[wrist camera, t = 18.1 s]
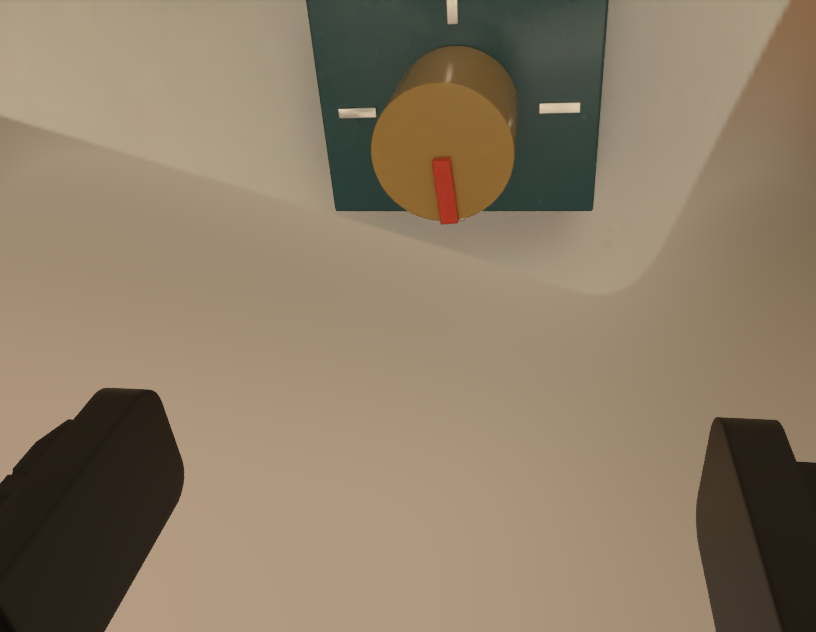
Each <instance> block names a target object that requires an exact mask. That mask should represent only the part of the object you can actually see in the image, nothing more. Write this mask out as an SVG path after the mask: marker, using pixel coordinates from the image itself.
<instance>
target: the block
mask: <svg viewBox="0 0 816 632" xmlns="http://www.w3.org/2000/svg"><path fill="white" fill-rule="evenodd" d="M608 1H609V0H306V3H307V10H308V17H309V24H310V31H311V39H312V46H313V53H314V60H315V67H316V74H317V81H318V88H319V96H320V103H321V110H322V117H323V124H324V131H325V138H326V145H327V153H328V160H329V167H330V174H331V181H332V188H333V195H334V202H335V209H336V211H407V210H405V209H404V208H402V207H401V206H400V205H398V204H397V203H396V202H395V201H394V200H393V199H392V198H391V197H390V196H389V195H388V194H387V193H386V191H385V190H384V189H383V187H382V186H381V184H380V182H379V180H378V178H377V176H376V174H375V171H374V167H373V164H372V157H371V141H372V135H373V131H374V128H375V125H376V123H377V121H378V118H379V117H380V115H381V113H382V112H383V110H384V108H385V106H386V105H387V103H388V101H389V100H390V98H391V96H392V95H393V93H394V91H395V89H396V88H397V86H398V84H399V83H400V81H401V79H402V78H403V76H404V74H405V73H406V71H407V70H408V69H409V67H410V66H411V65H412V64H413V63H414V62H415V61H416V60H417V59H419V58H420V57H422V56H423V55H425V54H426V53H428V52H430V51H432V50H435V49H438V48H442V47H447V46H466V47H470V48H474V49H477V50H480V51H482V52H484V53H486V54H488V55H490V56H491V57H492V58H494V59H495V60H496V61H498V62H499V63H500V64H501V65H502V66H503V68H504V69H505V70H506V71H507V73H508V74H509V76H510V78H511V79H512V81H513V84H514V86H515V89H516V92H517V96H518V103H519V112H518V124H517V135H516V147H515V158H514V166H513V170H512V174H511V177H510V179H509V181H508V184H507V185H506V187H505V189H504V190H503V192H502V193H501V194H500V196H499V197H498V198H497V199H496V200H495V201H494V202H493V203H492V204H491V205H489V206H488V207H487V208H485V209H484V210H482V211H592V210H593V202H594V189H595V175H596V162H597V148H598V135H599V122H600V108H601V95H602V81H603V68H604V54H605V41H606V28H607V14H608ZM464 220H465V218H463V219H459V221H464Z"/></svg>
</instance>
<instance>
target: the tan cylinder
mask: <svg viewBox="0 0 816 632" xmlns="http://www.w3.org/2000/svg"><path fill="white" fill-rule="evenodd" d="M518 112H519V103H518V96H517V92H516V89H515V86H514V84H513V81H512V79H511V78H510V76H509V74H508V73H507V71H506V70H505V69H504V68H503V66H502V65H501V64H500V63H499V62H498V61H496V60H495V59H494V58H492V57H491V56H490V55H488V54H486V53H484V52H482V51H480V50H477V49H474V48H470V47H466V46H447V47H442V48H438V49H435V50H432V51H430V52H428V53H426V54H425V55H423V56H422V57H420V58H419V59H417V60H416V61H415V62H414V63H413V64H412V65H411V66H410V67H409V69H408V70H407V71H406V73H405V74H404V76H403V78H402V79H401V81H400V83H399V84H398V86H397V88H396V89H395V91H394V93H393V95H392V96H391V98H390V100H389V101H388V103H387V105H386V106H385V108H384V110H383V112H382V113H381V115H380V117H379V118H378V121H377V123H376V125H375V128H374V131H373V135H372V141H371V157H372V164H373V167H374V171H375V174H376V176H377V178H378V180H379V182H380V184H381V186H382V187H383V189H384V190H385V191H386V193H387V194H388V195H389V196H390V197H391V198H392V199H393V200H394V201H395V202H396V203H397V204H398V205H400V206H401V207H402V208H404V209H405V210H407V211H409V212H411V213H413V214H415V215H417V216H420V217H423V218H427V219H431V220H438V221H440V222H441V224H453V223H458V221H459V219H463V218H467V217H470V216H472V215H475V214H477V213H479V212H480V211H482V210H484V209H485V208H487V207H488V206H489V205H491V204H492V203H493V202H494V201H495V200H496V199H497V198H498V197H499V196H500V194H501V193H502V192H503V190H504V189H505V187H506V185H507V184H508V181H509V179H510V177H511V174H512V170H513V166H514V158H515V147H516V135H517V124H518Z"/></svg>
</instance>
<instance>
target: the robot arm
mask: <svg viewBox="0 0 816 632" xmlns="http://www.w3.org/2000/svg"><path fill="white" fill-rule="evenodd" d="M183 483H184V466H183V462H182V458H181V455H180V453H179V450H178V447H177V444H176V441H175V438H174V435H173V432H172V430H171V427H170V424H169V421H168V418H167V416H166V413H165V410H164V407H163V404H162V401H161V399H160V397H159V396H158V394H157V393H156V392H154V391H152V390H144V389H122V388H103V389H101V390H99V391H98V392H96V393H95V394H94V396H93V397H92V398H91V399H90V400H89V401H88V403H87V404H86V405H85V406H84V408H83V409H82V410H81V411H80V412H79V414H78V415H77V416H76V417H75V418H74V420H67V421H65V422H64V423H62V424H61V425H60V426H58V427H57V428H55V429H54V430H52V431H51V432H50V433H48V434H47V435H46V436H44V437H43V438H41V439H40V440H38V441H37V442H36V443H35V444H34V445H33V446H32V447H31V449H30V450H29V451H28V452H27V453H26V454H25V455H24V457H23V458H22V459H21V460H20V461H19V462H18V464H17V465H16V466H15V467H14V468H13V473H12V475H7V476H6V477H5V479H4V480H3V481H2V482H1V483H0V632H104V631H105V630H106V628H107V626H108V624H109V622H110V620H111V619H112V617H113V615H114V614H115V612H116V610H117V609H118V607H119V605H120V603H121V601H122V600H123V598H124V596H125V594H126V593H127V591H128V589H129V587H130V585H131V584H132V582H133V580H134V579H135V577H136V575H137V573H138V571H139V570H140V568H141V566H142V564H143V563H144V561H145V559H146V557H147V556H148V554H149V552H150V550H151V549H152V547H153V545H154V543H155V542H156V540H157V538H158V536H159V535H160V533H161V531H162V529H163V528H164V526H165V524H166V522H167V520H168V519H169V517H170V515H171V514H172V512H173V510H174V508H175V507H176V505H177V503H178V501H179V498H180V496H181V492H182V488H183ZM696 526H697V538H698V545H699V550H700V555H701V560H702V565H703V569H704V575H705V579H706V584H707V589H708V594H709V599H710V604H711V609H712V613H713V618H714V623H715V628H716V632H816V463H811V462H810V463H809V462H796V459H795V457H794V454H793V452H792V449H791V447H790V444H789V441H788V439H787V436H786V434H785V431H784V429H783V427H782V425H781V424H780V422H779V421H777V420H763V419H743V418H720V417H717V418H715V419H714V421H713V423H712V426H711V430H710V435H709V440H708V446H707V450H706V455H705V461H704V466H703V471H702V476H701V482H700V487H699V492H698V498H697V506H696Z"/></svg>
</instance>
